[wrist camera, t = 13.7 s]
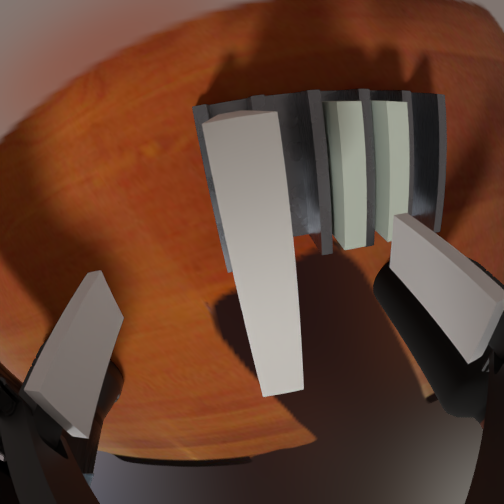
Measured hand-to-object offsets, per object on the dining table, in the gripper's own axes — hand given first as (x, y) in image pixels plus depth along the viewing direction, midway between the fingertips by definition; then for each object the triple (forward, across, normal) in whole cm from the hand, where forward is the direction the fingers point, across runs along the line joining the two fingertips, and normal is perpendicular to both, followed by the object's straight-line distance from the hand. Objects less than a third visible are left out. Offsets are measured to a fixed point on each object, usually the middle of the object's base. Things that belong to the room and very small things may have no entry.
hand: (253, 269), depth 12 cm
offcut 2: (+15, -13, 0) cm, 20 cm away
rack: (+17, -9, 0) cm, 19 cm away
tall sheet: (+16, -1, 0) cm, 16 cm away
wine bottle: (+17, -19, +17) cm, 31 cm away
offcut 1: (+16, -9, 0) cm, 18 cm away
